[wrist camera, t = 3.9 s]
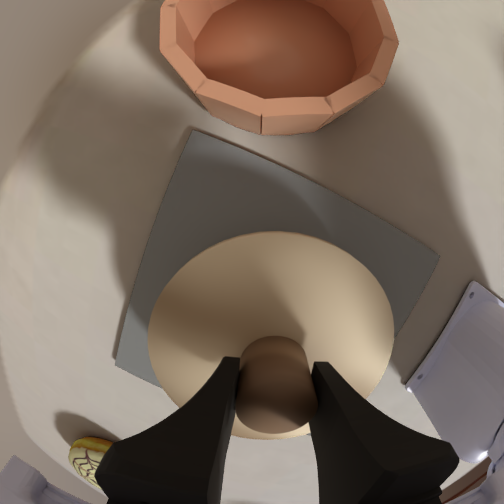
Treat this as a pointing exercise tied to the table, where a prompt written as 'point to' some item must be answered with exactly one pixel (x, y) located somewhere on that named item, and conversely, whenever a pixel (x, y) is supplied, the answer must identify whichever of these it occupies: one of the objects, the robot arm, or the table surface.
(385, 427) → the robot arm
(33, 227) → the table surface
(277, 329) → the lid
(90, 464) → the decorated donut
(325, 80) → the bowl
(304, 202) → the mat
